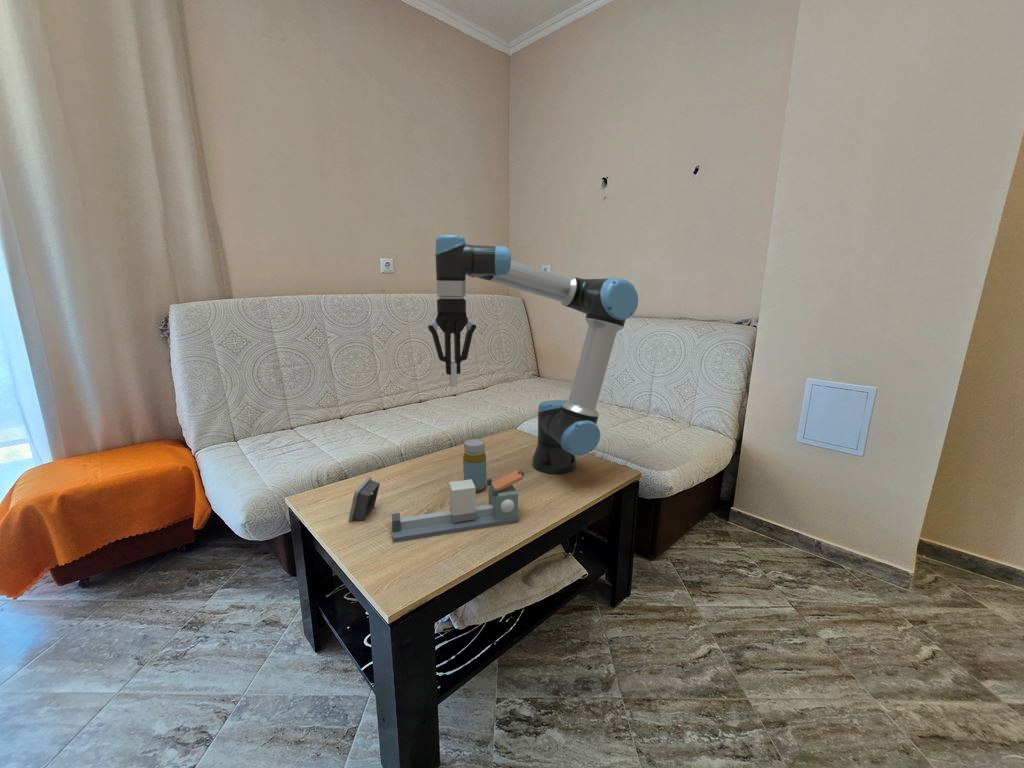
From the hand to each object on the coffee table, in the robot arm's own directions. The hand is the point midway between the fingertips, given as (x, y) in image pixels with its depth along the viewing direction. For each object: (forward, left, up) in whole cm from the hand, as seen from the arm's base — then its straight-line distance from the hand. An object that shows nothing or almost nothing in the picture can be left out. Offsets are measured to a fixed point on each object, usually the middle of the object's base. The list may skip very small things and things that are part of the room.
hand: (453, 385), depth 114 cm
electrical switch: (+25, 0, -35) cm, 43 cm away
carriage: (0, +12, -33) cm, 35 cm away
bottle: (-7, -6, -35) cm, 36 cm away
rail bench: (+2, +12, -34) cm, 36 cm away
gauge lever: (-8, +12, -26) cm, 29 cm away
